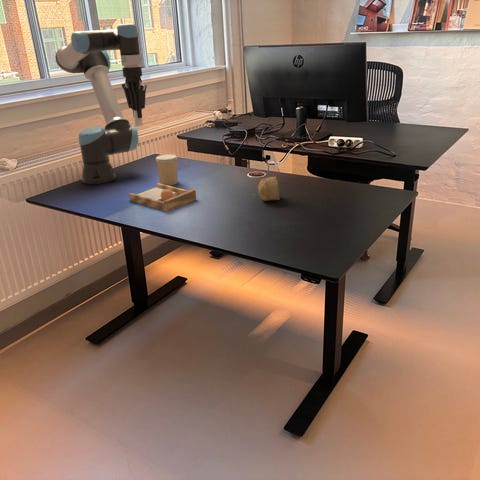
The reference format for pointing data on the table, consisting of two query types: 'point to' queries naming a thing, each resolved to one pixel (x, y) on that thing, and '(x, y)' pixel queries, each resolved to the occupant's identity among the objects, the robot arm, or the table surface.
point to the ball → (166, 194)
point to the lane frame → (168, 204)
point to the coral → (269, 189)
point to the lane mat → (155, 194)
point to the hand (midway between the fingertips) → (139, 125)
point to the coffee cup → (167, 169)
